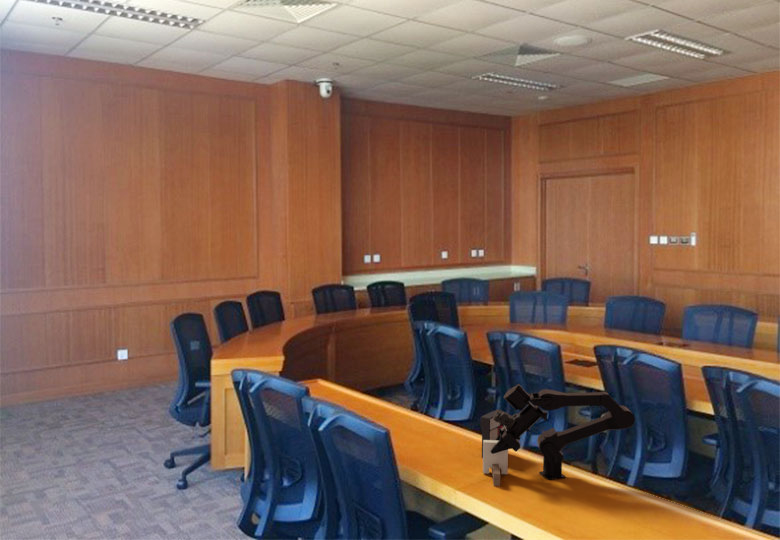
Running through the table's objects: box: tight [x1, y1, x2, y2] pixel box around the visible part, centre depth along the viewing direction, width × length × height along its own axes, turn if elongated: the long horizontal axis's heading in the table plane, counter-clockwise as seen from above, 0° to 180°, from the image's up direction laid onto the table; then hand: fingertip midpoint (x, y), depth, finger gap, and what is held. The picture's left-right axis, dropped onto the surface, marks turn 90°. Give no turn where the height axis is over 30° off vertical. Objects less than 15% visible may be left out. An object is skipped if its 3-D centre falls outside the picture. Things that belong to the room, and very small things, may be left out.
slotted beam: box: [491, 464, 501, 487], centre depth 222 cm, size 22×2×4 cm, turn 174°
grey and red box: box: [480, 409, 503, 459], centre depth 239 cm, size 11×4×15 cm, turn 143°
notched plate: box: [482, 440, 509, 475], centre depth 221 cm, size 8×2×10 cm, turn 84°
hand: (491, 451), depth 221 cm, fingers open, 3 cm apart
